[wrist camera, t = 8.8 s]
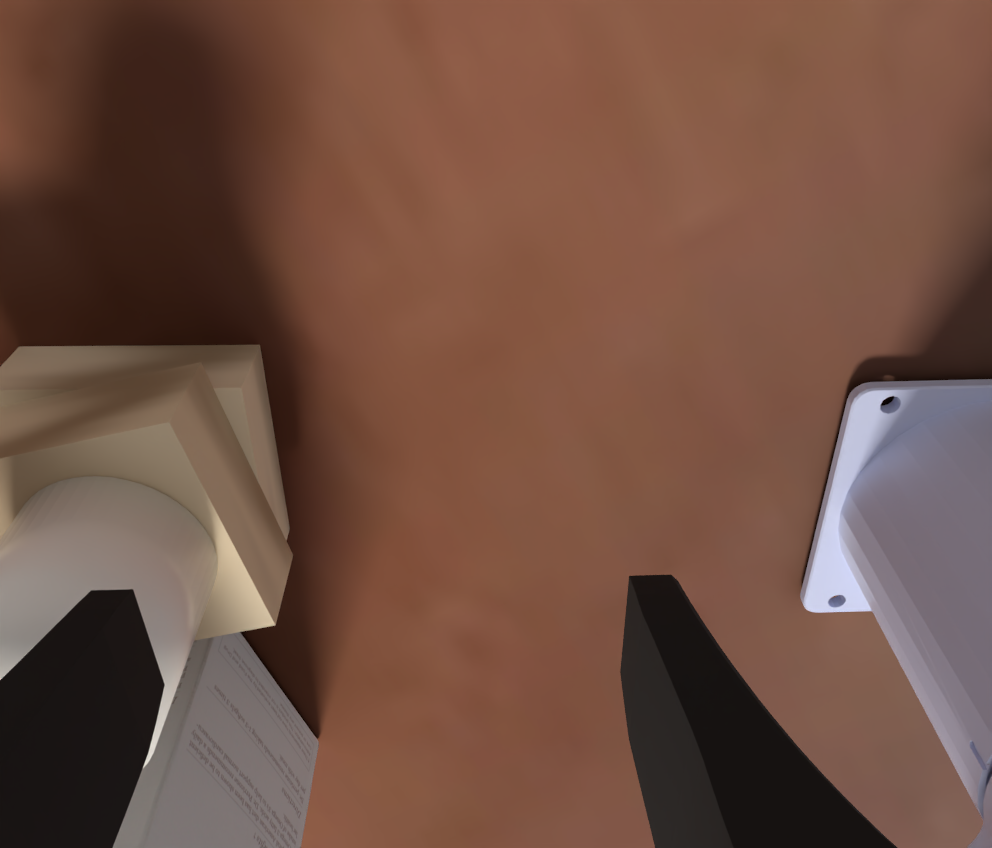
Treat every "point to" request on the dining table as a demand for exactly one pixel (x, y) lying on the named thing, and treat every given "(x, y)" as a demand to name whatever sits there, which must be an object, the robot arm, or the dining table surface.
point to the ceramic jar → (106, 568)
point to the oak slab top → (158, 475)
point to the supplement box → (224, 760)
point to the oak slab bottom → (225, 365)
